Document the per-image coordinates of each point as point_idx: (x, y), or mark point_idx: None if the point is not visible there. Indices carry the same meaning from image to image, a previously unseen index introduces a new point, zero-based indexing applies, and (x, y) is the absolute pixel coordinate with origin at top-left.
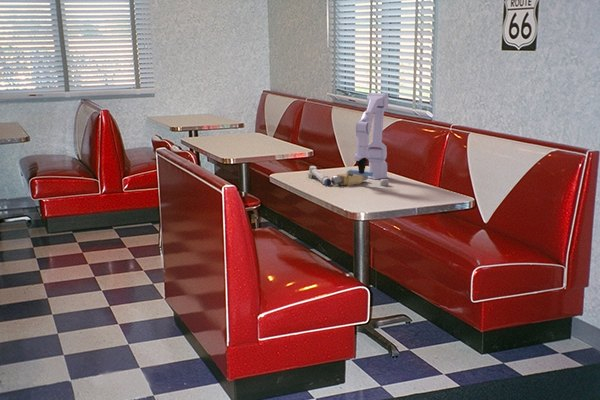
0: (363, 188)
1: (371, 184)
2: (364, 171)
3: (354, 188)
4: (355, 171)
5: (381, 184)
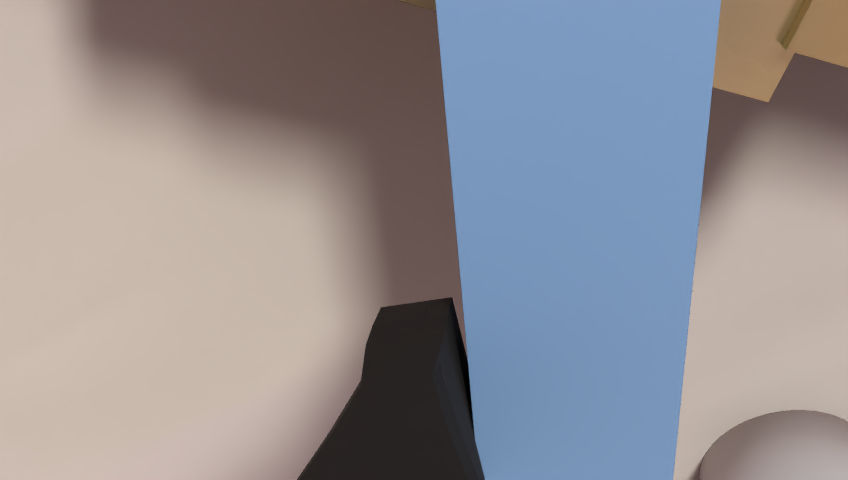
0: (241, 317)
1: (769, 249)
2: (572, 455)
3: (81, 185)
4: (450, 123)
5: (717, 474)
